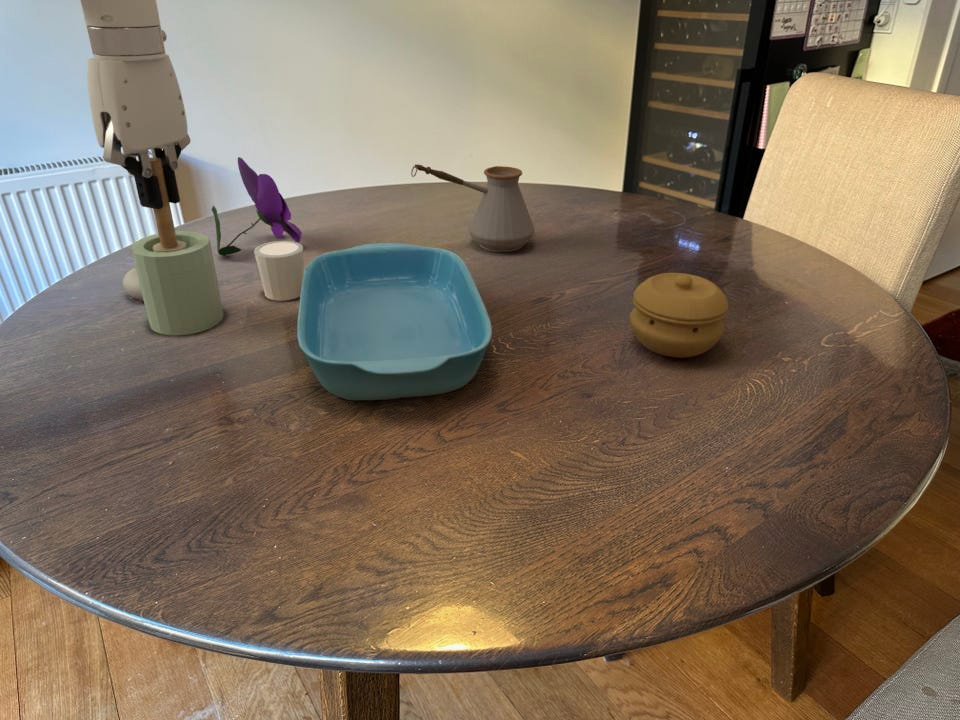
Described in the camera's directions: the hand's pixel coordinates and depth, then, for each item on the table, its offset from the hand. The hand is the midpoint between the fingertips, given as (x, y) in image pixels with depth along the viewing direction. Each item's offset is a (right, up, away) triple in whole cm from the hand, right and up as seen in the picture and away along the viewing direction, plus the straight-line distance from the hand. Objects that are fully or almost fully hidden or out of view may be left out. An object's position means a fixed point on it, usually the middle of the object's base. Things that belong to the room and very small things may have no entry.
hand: (160, 203), depth 88 cm
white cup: (+11, -10, +16) cm, 22 cm away
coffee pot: (+39, 0, +34) cm, 52 cm away
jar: (0, -14, +8) cm, 16 cm away
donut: (-7, -10, +16) cm, 20 cm away
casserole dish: (+29, -18, +3) cm, 34 cm away
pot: (+65, -18, +4) cm, 68 cm away
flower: (+2, -1, +31) cm, 31 cm away
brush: (0, -9, +5) cm, 11 cm away
